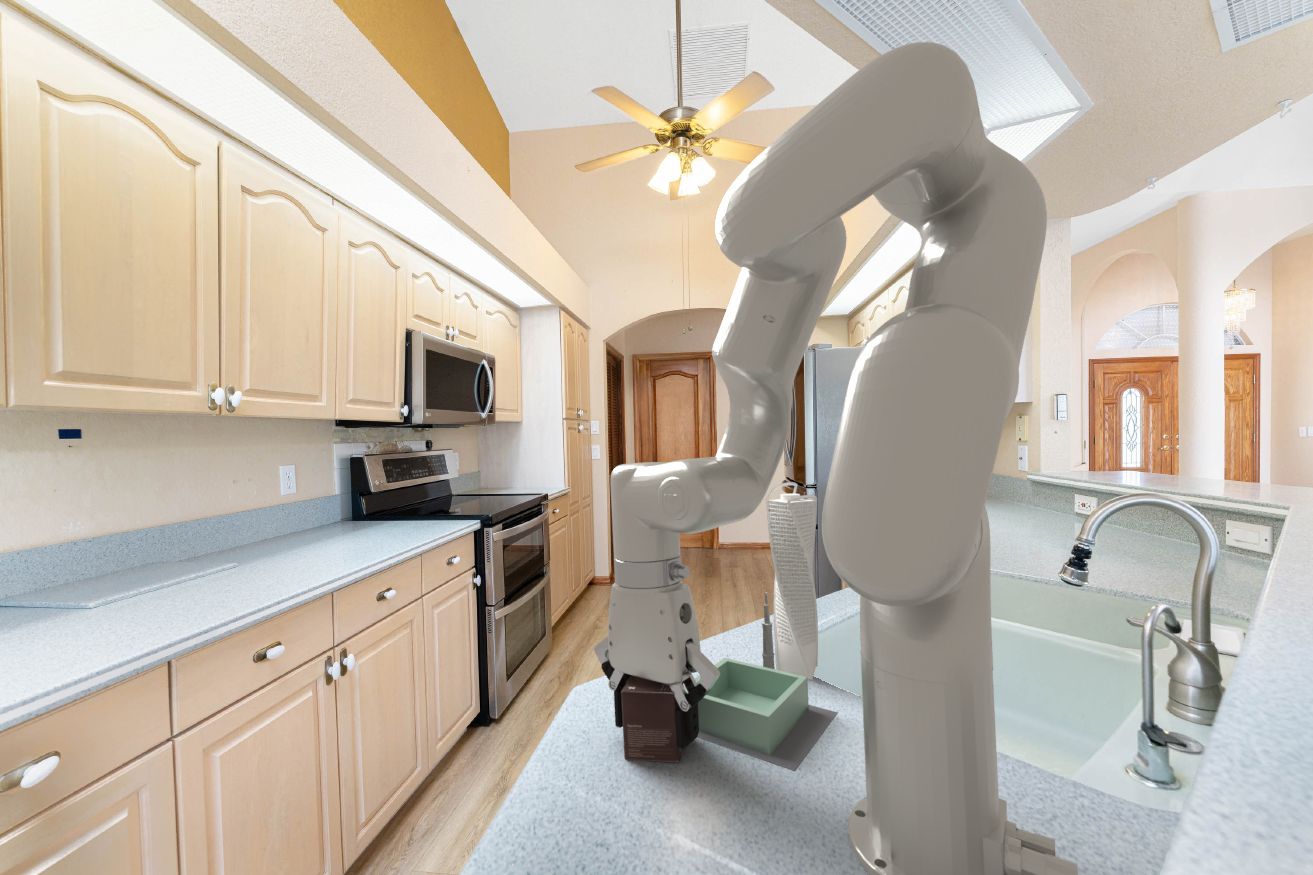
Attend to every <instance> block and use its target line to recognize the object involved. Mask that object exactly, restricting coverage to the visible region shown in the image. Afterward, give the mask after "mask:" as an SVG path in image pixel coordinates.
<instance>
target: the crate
mask: <svg viewBox="0 0 1313 875" xmlns="http://www.w3.org/2000/svg"><path fill="white" fill-rule="evenodd" d="M714 665H715V666H716V667H717V668H718V670H719V671H720V676H719V678H718V679H717V681H716V682H715V684H714V685H713V686H712V688H711V690H710V692H709V693H708V694H706V695H705V696H704V697H703V698H702V700H701V701H699V702H698V716H699V731H701V732H704V733H707V734H710V735H712V736H715V737H718V738H721V739H724V740H727V741H730V742H733V743H736V744H739V745H742V746H745V747H748V748H751V749H754V750H757V751H760V752H763V753H766V754H769V755H770V754H771V753H772V752H773V751H774V750H775V748H776V747H777V746H778V745H779V744H780V743H781V741H782V740H783V739H784V738H785V737H786V736H787V734H788V733H789V732H790V731H791V730H792V729H793V727H794V726H795V725H796V724H797V723H798V722H799V720H800V719H801V718H802V717H803V716H804V714H805V713H806V712H807V711H808V710H809V705H810V704H809V682H808V680H809V679H808V678H807V677H805V676H801V675H797V674H792V673H788V672H784V671H780V670H776V668H775V669H771V668H767V667H763V665H757V664H753V663H751V662H750V663H748V662H745V661H740V660H736V659H731V658H727V657H724V658H722V659H721V660H720V661H719V662H717V663H715V664H714ZM694 679H695V681H696V683H697V684H698V682H699V680H700V675H698V676H697V677H694ZM684 689H685V691H686V693H687V694H688V691H687V689H686V687H685V685H684Z"/></svg>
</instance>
